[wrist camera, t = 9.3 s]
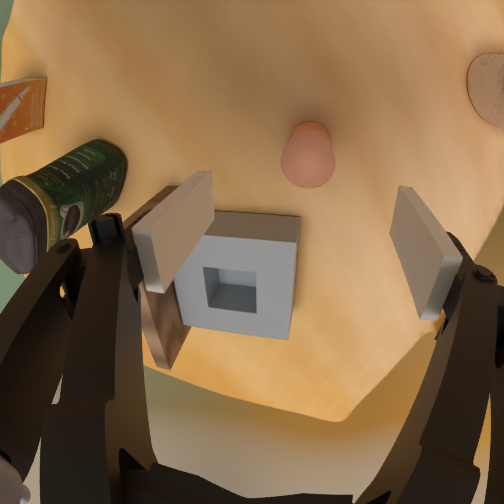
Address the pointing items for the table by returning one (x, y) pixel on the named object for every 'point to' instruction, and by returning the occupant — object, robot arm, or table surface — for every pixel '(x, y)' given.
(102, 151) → the coffee jar
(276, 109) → the table surface
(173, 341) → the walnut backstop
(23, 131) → the small box
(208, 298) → the socket block
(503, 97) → the teacup with lid
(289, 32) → the table surface
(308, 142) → the dowel
